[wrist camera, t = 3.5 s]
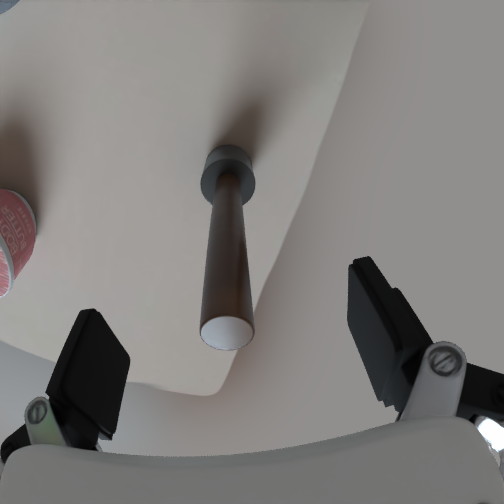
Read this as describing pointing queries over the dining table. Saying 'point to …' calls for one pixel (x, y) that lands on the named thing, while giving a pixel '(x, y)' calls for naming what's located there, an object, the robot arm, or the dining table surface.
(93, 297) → the dining table surface
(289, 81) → the dining table surface
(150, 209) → the dining table surface
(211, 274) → the brush
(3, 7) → the grey pen holder
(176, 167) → the dining table surface
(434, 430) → the robot arm
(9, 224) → the container
